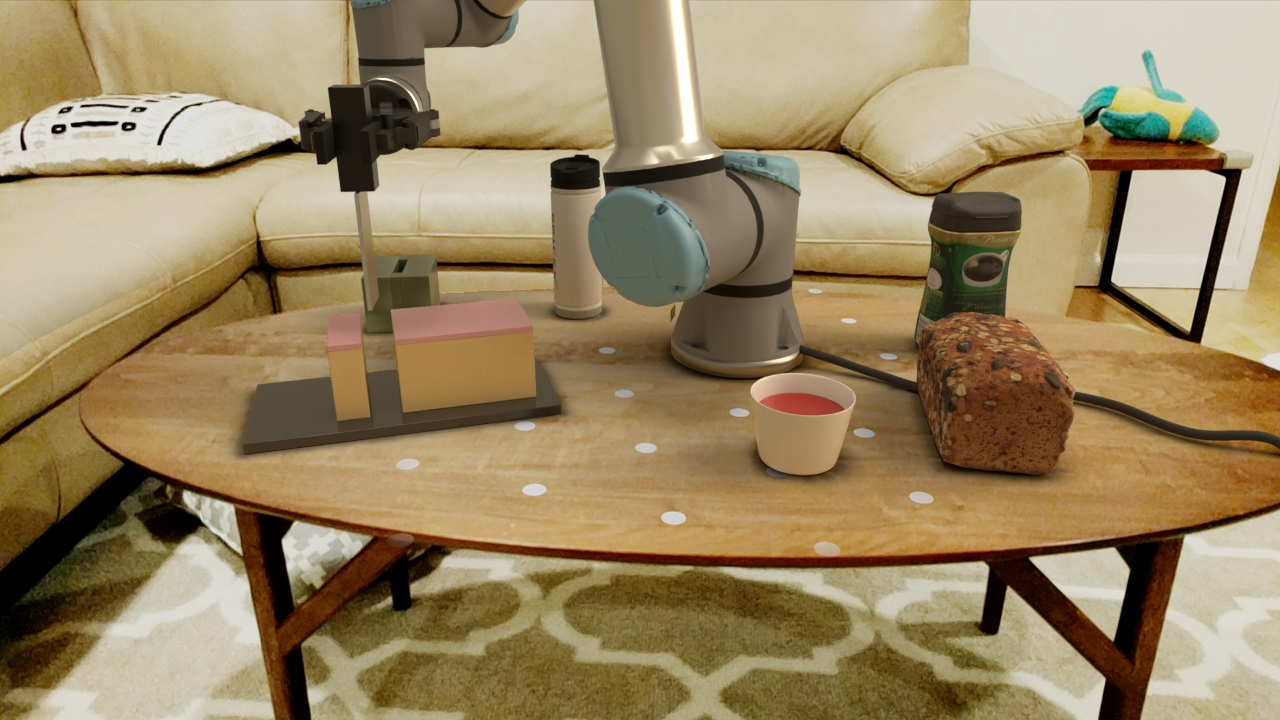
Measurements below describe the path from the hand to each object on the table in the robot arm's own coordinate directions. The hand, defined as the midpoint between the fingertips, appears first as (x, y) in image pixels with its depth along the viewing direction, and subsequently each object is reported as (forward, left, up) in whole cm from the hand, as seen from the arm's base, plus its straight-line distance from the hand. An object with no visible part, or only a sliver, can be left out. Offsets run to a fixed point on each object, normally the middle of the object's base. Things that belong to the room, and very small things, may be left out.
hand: (343, 147), depth 72 cm
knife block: (+7, -32, -26) cm, 42 cm away
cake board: (-1, -6, -26) cm, 27 cm away
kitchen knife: (+1, -5, -15) cm, 16 cm away
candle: (-39, +3, -26) cm, 47 cm away
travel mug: (-15, -36, -26) cm, 47 cm away
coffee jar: (-61, -25, -26) cm, 71 cm away
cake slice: (+4, -4, -25) cm, 26 cm away
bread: (-57, -4, -26) cm, 63 cm away
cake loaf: (-7, -8, -25) cm, 27 cm away
